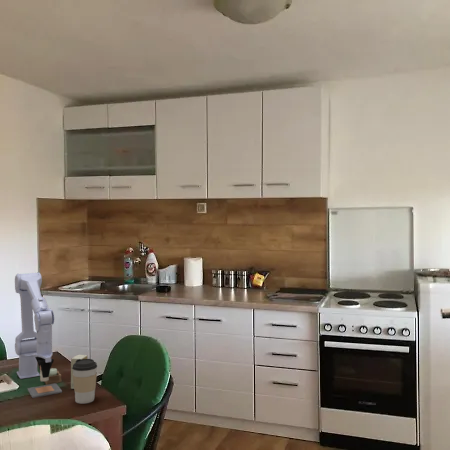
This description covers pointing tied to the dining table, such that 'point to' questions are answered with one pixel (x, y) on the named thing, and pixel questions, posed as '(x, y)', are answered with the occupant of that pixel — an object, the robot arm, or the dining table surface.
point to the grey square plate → (44, 390)
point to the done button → (53, 372)
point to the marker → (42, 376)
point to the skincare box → (72, 366)
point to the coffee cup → (84, 380)
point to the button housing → (54, 379)
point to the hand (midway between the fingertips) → (44, 375)
